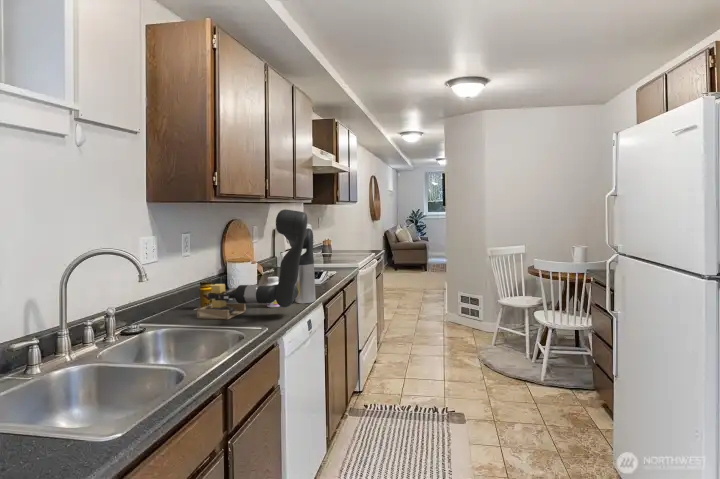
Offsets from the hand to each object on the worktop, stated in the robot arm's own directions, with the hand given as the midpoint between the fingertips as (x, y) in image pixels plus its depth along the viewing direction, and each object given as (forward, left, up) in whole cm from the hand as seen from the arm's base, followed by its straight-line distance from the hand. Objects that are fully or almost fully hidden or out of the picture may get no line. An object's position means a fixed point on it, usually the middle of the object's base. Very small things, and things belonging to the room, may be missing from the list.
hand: (214, 293), depth 199 cm
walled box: (0, +3, -9) cm, 9 cm away
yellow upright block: (0, +2, -8) cm, 8 cm away
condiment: (-11, -12, -9) cm, 19 cm away
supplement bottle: (-18, +18, -9) cm, 27 cm away
